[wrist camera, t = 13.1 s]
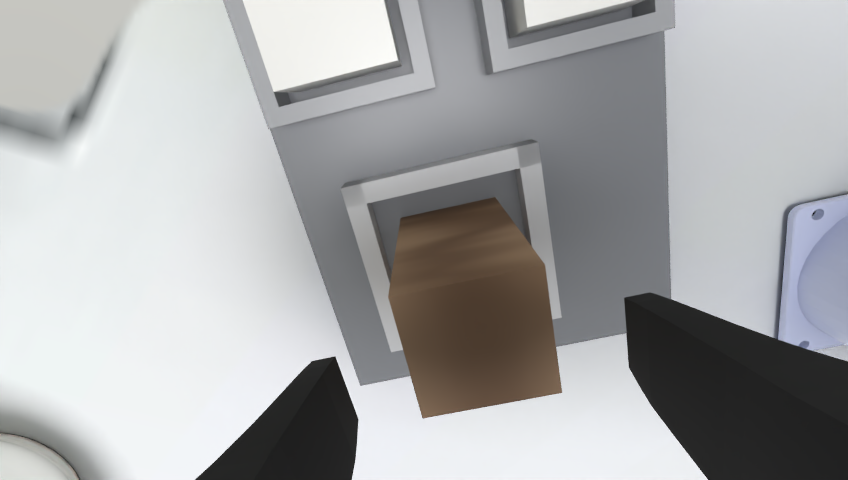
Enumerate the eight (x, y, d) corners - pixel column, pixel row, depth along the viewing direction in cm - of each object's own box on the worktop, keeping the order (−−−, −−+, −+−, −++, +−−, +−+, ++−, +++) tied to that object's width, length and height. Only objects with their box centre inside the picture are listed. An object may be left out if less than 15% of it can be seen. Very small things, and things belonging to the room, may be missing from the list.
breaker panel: (632, -208, 13) (721, -335, 9) (653, 307, 20) (711, 359, 16) (210, -85, 14) (131, -154, 10) (364, 366, 21) (351, 428, 17)
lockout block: (495, 197, 16) (545, 265, 10) (509, 282, 18) (562, 392, 11) (400, 217, 17) (388, 297, 10) (421, 300, 18) (422, 418, 11)
